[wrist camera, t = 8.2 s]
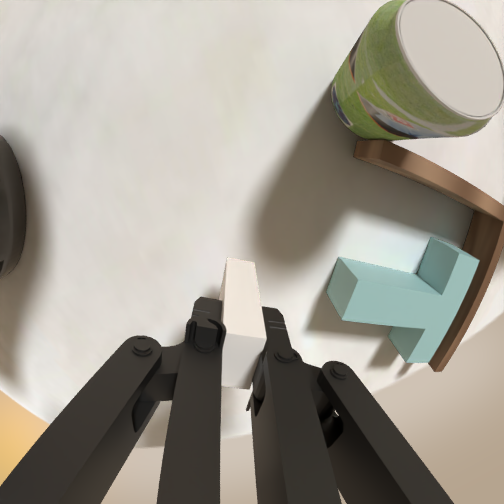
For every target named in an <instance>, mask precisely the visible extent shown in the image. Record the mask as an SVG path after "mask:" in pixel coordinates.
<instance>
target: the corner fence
mask: <svg viewBox="0 0 504 504" xmlns="http://www.w3.org/2000/svg"><path fill="white" fill-rule="evenodd" d="M353 157H355V158H357V159H360V160H363V161H366V162H369V163H371V164H374V165H377V166H379V167H382V168H384V169H387V170H390V171H392V172H395V173H397V174H399V175H402V176H404V177H407V178H409V179H411V180H414V181H416V182H418V183H420V184H423V185H425V186H427V187H429V188H431V189H434V190H436V191H438V192H440V193H442V194H444V195H446V196H448V197H450V198H452V199H454V200H456V201H458V202H460V203H462V204H464V205H466V206H468V207H469V208H471V209H473V210H475V211H474V214H473V218H472V221H471V225H470V228H469V231H468V234H467V237H466V240H465V243H464V246H463V249H462V250H463V251H464V252H466V253H468V254H470V255H471V256H473V257H475V258H476V259H478V260H480V261H479V263H478V266H477V269H476V271H475V274H474V276H473V279H472V281H471V283H470V286H469V288H468V290H467V292H466V295H465V297H464V299H463V301H462V303H461V305H460V307H459V310H458V312H457V314H456V316H455V317H454V319H453V321H452V323H451V325H450V327H449V329H448V331H447V333H446V334H445V336H444V338H443V340H442V341H441V343H440V345H439V347H438V348H437V350H436V352H435V353H434V355H433V356H432V358H431V360H430V361H429V362H428V364H429V365H430V366H431V368H432V369H433V371H434V372H440V371H442V370H443V369H444V367H445V366H446V364H447V363H448V361H449V360H450V358H451V356H452V355H453V353H454V352H455V350H456V348H457V347H458V345H459V343H460V342H461V340H462V338H463V336H464V335H465V333H466V331H467V329H468V327H469V325H470V323H471V322H472V320H473V318H474V316H475V314H476V312H477V310H478V308H479V305H480V303H481V301H482V299H483V297H484V295H485V292H486V290H487V288H488V285H489V283H490V281H491V278H492V276H493V273H494V271H495V268H496V265H497V263H498V260H499V257H500V254H501V251H502V248H503V245H504V206H503V205H502V204H501V203H499V202H498V201H496V200H495V199H493V198H492V197H490V196H489V195H487V194H486V193H484V192H483V191H481V190H480V189H478V188H477V187H475V186H473V185H472V184H470V183H469V182H467V181H465V180H464V179H462V178H460V177H458V176H457V175H455V174H453V173H451V172H450V171H448V170H446V169H444V168H442V167H441V166H439V165H437V164H435V163H433V162H431V161H429V160H427V159H425V158H423V157H421V156H419V155H417V154H415V153H413V152H411V151H409V150H407V149H404V148H402V147H400V146H398V145H396V144H393V143H391V142H389V141H386V140H365V141H357V143H356V148H355V152H354V156H353Z"/></svg>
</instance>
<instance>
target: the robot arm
mask: <svg viewBox="0 0 504 504" xmlns="http://www.w3.org/2000/svg"><path fill="white" fill-rule="evenodd" d="M25 226H26V211H25V198H24V190H23V184H22V179H21V175H20V171H19V167H18V164H17V161H16V158H15V156H14V154H13V151H12V149H11V148H10V146H9V144H8V143H7V141H6V140H5V139H4V138H3V137H2V136H1V135H0V279H1V278H2V277H4V276H5V275H7V274H8V273H10V272H11V271H12V270H13V269H14V267H15V266H16V264H17V263H18V261H19V258H20V256H21V252H22V249H23V244H24V238H25ZM252 383H253V391H252V394H251V397H250V399H249V402H248V405H247V408H246V411H249V409H250V406H251V421H252V435H253V449H254V462H255V475H256V488H257V500H258V504H342V503H341V499H340V495H339V492H338V489H339V491H340V493H341V494H342V496H343V498H344V500H345V501H346V503H347V504H454V503H453V502H452V500H451V499H450V498H449V496H448V495H447V494H446V492H445V491H444V490H443V488H442V487H441V486H440V484H439V483H438V482H437V480H436V479H435V478H434V476H433V475H432V474H431V473H430V471H429V470H428V468H427V467H426V466H425V464H424V463H423V462H422V460H421V459H420V458H419V456H418V455H417V454H416V452H415V451H414V450H413V448H412V447H411V446H410V445H409V443H408V442H407V440H406V439H405V438H404V437H403V435H402V434H401V433H400V431H399V430H398V429H397V428H396V426H395V425H394V423H393V422H392V421H391V419H390V418H389V417H388V416H387V414H386V413H385V412H384V410H383V409H382V408H381V406H380V405H379V404H378V403H377V401H376V400H375V399H374V398H373V396H372V395H371V393H370V392H369V391H368V389H367V388H366V387H365V386H364V384H363V383H362V382H361V380H360V379H359V378H358V377H357V375H356V374H355V373H354V371H353V370H352V369H351V368H350V367H349V366H347V365H346V364H344V363H341V362H338V361H329V362H326V363H325V364H324V365H323V366H322V368H319V367H315V366H312V365H309V364H306V363H304V362H303V361H302V358H301V356H300V354H299V353H298V352H297V351H295V350H294V349H292V347H291V344H290V340H289V336H288V333H287V330H286V325H285V321H284V318H283V315H282V314H281V313H280V312H279V310H278V309H276V308H269V307H263V306H261V300H260V294H259V288H258V282H257V276H256V270H255V263H254V262H250V261H244V260H239V259H234V258H228V257H227V261H226V266H225V271H224V276H223V281H222V286H221V291H220V296H219V300H216V299H211V298H205V297H200V298H199V299H198V300H196V301H195V303H194V308H193V312H192V316H191V319H189V321H188V322H187V324H186V333H185V340H184V342H182V343H181V344H179V345H176V346H170V347H161V345H160V344H159V343H158V341H156V340H155V339H153V338H151V337H147V336H134V337H130V338H129V339H127V340H126V341H125V342H124V343H123V344H122V345H121V346H120V347H119V348H118V349H117V350H116V351H115V353H114V354H113V355H112V356H111V357H110V358H109V359H108V360H107V361H106V362H105V363H104V365H103V366H102V367H101V368H100V369H99V370H98V371H97V372H96V373H95V374H94V376H93V377H92V378H91V379H90V380H89V381H88V382H87V383H86V384H85V386H84V387H83V388H82V389H81V390H80V391H79V392H78V393H77V395H76V396H75V397H74V398H73V399H72V400H71V401H70V403H69V404H68V405H67V406H66V407H65V408H64V409H63V411H62V412H61V413H60V414H59V415H58V416H57V418H56V419H55V420H54V421H53V422H52V423H51V425H50V426H49V427H48V428H47V429H46V430H45V432H44V433H43V434H42V435H41V436H40V438H39V439H38V440H37V441H36V442H35V444H34V445H33V446H32V447H31V449H30V450H29V451H28V452H27V453H26V455H25V456H24V457H23V458H22V460H21V461H20V462H19V463H18V465H17V466H16V467H15V468H14V469H13V471H12V472H11V473H10V475H9V476H8V477H7V479H6V480H5V481H4V482H3V484H2V485H1V486H0V504H101V502H102V500H103V499H104V497H105V495H106V493H107V492H108V490H109V488H110V487H111V485H112V483H113V481H114V480H115V478H116V476H117V475H118V473H119V471H120V470H121V468H122V466H123V465H124V463H125V461H126V459H127V458H128V456H129V454H130V453H131V451H132V449H133V448H134V446H135V444H136V442H137V441H138V439H139V437H140V436H141V434H142V432H143V431H144V429H145V427H146V426H147V424H148V422H149V420H150V419H151V417H152V415H153V414H154V412H155V410H156V409H157V407H158V405H159V404H160V401H169V400H173V401H172V407H171V412H170V418H169V424H168V429H167V435H166V441H165V448H164V454H163V460H162V467H161V474H160V481H159V489H158V497H157V504H220V424H221V386H224V387H232V388H240V389H250V386H251V384H252ZM335 410H336V412H337V413H338V415H339V416H338V415H337V414H336V413H335Z"/></svg>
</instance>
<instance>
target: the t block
mask: <svg viewBox="0 0 504 504" xmlns="http://www.w3.org/2000/svg"><path fill="white" fill-rule="evenodd" d="M479 261H480V260H478V259H476V258H475V257H473V256H471V255H470V254H468V253H466V252H464V251H463V250H461V249H459V248H457V247H456V246H454V245H452V244H449V243H447V242H444V241H441V240H439V239H436V238H433V237H431V238H430V241H429V244H428V246H427V249H426V252H425V255H424V257H423V260H422V263H421V265H420V268H419V270H418V273H417V274H412V273H408V272H404V271H400V270H395V269H391V268H387V267H382V266H378V265H373V264H369V263H365V262H360V261H356V260H351V259H347V258H342V257H338V260H337V263H336V266H335V269H334V271H333V274H332V277H331V280H330V283H329V285H328V288H327V291H326V293H327V295H328V296H329V298H330V300H331V302H332V304H333V305H334V307H335V309H336V311H337V313H338V314H339V316H340V318H341V320H344V321H352V322H361V323H369V324H378V325H388V326H393V328H392V330H391V332H390V333H389V335H388V337H389V339H390V340H391V342H392V343H393V345H394V346H395V347H396V349H397V350H398V352H399V353H400V355H401V356H402V358H403V359H404V361H405V362H406V363H427V362H429V361H430V360H431V358H432V356H433V355H434V353H435V352H436V350H437V348H438V347H439V345H440V343H441V341H442V340H443V338H444V336H445V334H446V333H447V331H448V329H449V327H450V325H451V323H452V321H453V319H454V317H455V316H456V314H457V312H458V310H459V307H460V305H461V303H462V301H463V299H464V297H465V295H466V292H467V290H468V288H469V286H470V283H471V281H472V279H473V276H474V274H475V271H476V269H477V266H478V263H479Z"/></svg>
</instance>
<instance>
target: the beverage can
mask: <svg viewBox="0 0 504 504" xmlns="http://www.w3.org/2000/svg"><path fill="white" fill-rule="evenodd" d="M331 97H332V103H333V106H334V109H335V111H336V113H337V115H338V117H339V118H340V120H341V121H342V123H343V124H344V125H345V126H346V127H347V128H348V129H349V130H351V131H352V132H353V133H355V134H356V135H358V136H360V137H362V138H365V139H367V140H386V141H394V140H406V139H421V138H441V137H462V136H469V135H471V134H474V133H476V132H478V131H479V130H481V129H482V128H483V127H485V126H486V125H487V123H488V122H489V121H490V119H491V118H492V117H493V116H494V115H495V114H497V113H498V111H499V110H500V109H501V107H502V105H503V103H504V67H503V63H502V61H501V58H500V55H499V53H498V51H497V49H496V47H495V45H494V43H493V42H492V40H491V39H490V37H489V36H488V34H487V33H486V32H485V30H484V29H483V28H482V27H481V25H480V24H479V23H478V22H477V21H476V20H475V19H474V18H473V17H472V16H470V15H469V14H468V13H467V12H466V11H464V10H463V9H461V8H460V7H458V6H457V5H455V4H453V3H451V2H449V1H447V0H392V1H390V2H387V3H386V4H384V5H383V6H381V7H380V8H379V9H378V10H377V11H376V13H375V14H374V15H373V17H372V18H371V20H370V21H369V23H368V24H367V26H366V27H365V29H364V31H363V32H362V34H361V35H360V37H359V38H358V40H357V42H356V43H355V45H354V46H353V48H352V50H351V51H350V53H349V54H348V56H347V57H346V59H345V61H344V62H343V64H342V66H341V67H340V69H339V70H338V72H337V74H336V75H335V77H334V80H333V83H332V87H331Z"/></svg>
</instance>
